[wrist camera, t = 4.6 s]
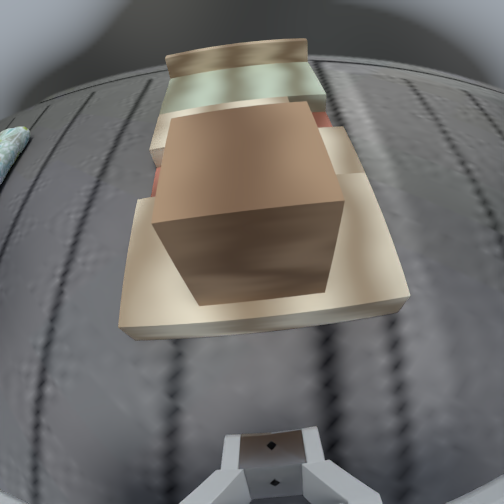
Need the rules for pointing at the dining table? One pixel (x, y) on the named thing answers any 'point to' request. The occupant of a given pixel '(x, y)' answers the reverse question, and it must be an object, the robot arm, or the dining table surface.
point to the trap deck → (351, 227)
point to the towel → (11, 147)
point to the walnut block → (248, 203)
